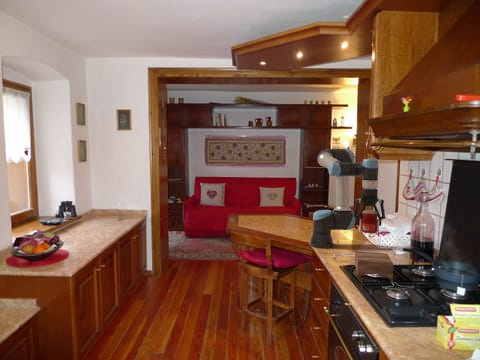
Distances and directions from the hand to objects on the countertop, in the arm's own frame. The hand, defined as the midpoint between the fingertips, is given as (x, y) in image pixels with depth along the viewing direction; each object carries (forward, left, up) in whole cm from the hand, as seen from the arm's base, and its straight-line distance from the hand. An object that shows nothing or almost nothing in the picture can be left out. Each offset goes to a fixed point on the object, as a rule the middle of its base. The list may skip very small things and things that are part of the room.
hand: (368, 231), depth 167 cm
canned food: (0, 0, 0) cm, 0 cm away
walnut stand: (+4, +2, -20) cm, 21 cm away
